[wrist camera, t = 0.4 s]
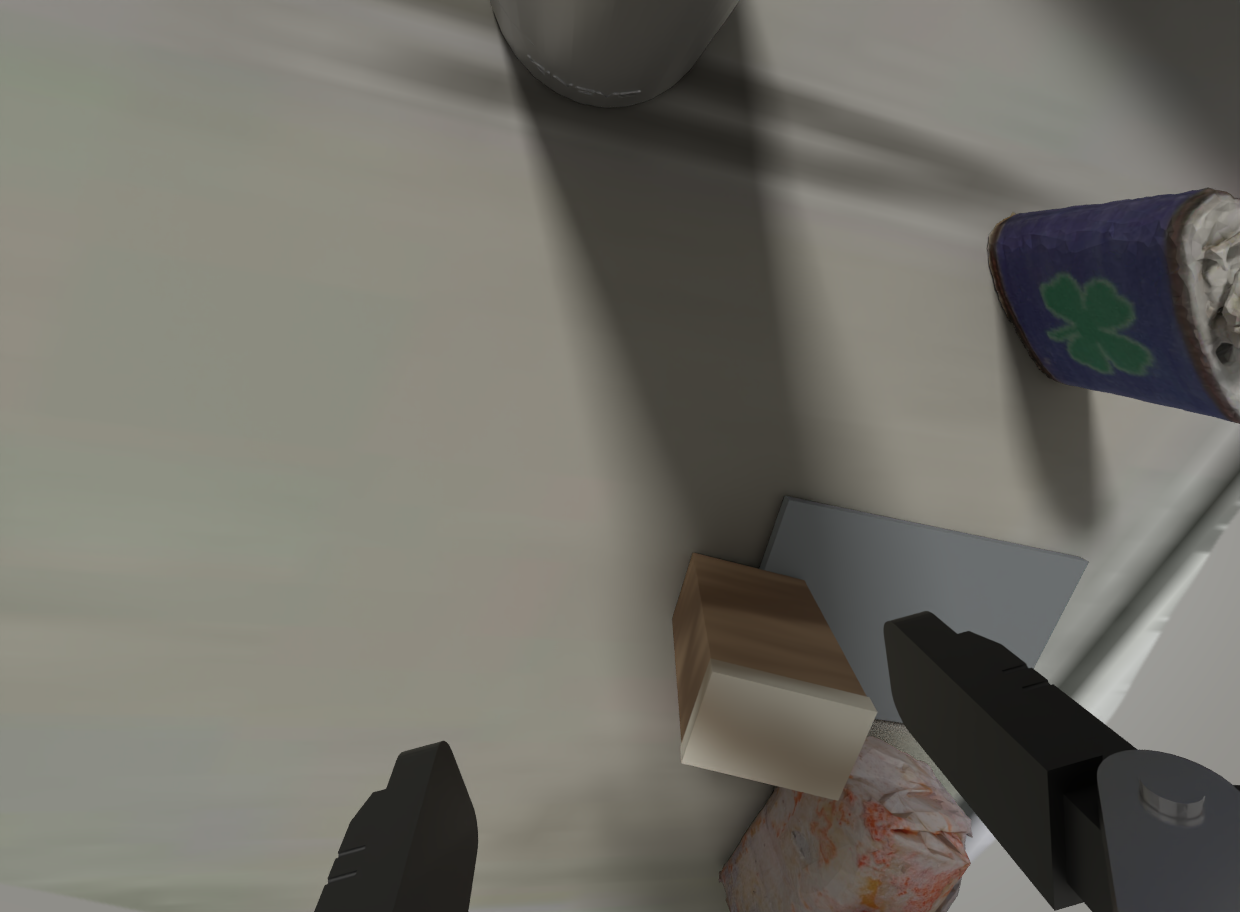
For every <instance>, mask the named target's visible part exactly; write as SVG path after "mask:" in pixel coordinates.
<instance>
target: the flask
mask: <svg viewBox="0 0 1240 912" xmlns="http://www.w3.org/2000/svg"><path fill="white" fill-rule="evenodd" d="M987 250H988V252H989V257H988V259H989V266H990V268H991V272H992V274H993V277H994V278H993V279H994V283H995V288H996V291H998V294H999V300H1000V301H1001V305H1002V308H1004V310H1005V311H1006V313H1007V318H1008V319H1009V321H1010V322H1011V323H1013V325H1014V326H1015V327H1014V328H1015V330H1016V333H1017V334H1018V335H1019V337H1020V338H1021V341H1022V343H1023V344H1024V346H1025V348H1027V350H1028V352H1029V354H1030V356H1031V357H1032V359H1033V360H1034V361H1035V363H1036V365H1037V367H1038V368H1039V370H1042V372H1043V373H1045V374H1046V375H1047V376H1048V378H1051V379H1053V380H1055V381H1057V382H1060V383H1063V384H1066V385H1071V386H1078V387H1082V388H1086V389H1090V390H1095V391H1101V392H1107V393H1112V394H1116V395H1121V396H1125V397H1130V398H1134V399H1138V400H1141V401H1145V402H1150V403H1154V404H1159V405H1164V406H1169V407H1174V408H1179V409H1183V410H1186V411H1190V412H1194V413H1199V414H1203V415H1208V416H1213V417H1217V418H1220V419H1223V420H1227V421H1231V422H1235V423H1239V424H1240V199H1238V198H1234V197H1233V196H1232V195H1230V194H1229V193H1227V192H1224V191H1218V190H1214V189H1211V188H1205V189H1201V190H1192V191H1188V192H1184V193H1180V194H1166V195H1157V196H1153V197H1144V198H1137V199H1134V200H1131V199H1126V200H1121V201H1113V202H1109V203H1104V204H1092V205H1081V206H1071V207H1067V208H1062V209H1052V210H1044V211H1037V212H1028V213H1019V214H1015V213H1014V212H1012V214H1011V216H1010V217H1008V218H1006V219H1003V220H1002V221H1001V222H999V223H997V224H996V226H995V227H994V229H993V230H992V232H991V233H990V234H989V243H988V247H987Z"/></svg>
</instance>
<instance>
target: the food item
mask: <svg viewBox="0 0 1240 912" xmlns="http://www.w3.org/2000/svg"><path fill="white" fill-rule="evenodd" d="M966 835H968V836H970V837H972V830H971V819H970V818H969V817H967V816H966V814H965V813H964V811H963V810H962V809H961V808H960V807H959V806H958V805H957V803H956V802H955V800H954V798H953V797H952V796H951V795H950V794H949V793H948V792H947V790H946V789H945V788H944V786H943V785H942V784H941V782H940V781H939V780H938V779H937V778H936V777H935V774H934V772H933V770H932V769H931V767H930V766H929V765H928V764H927V763H925V762H924V761H919V760H916V759H915V758H913V757H912V756H910V755H909V754H907V753H905V752H902V751H899V750H898V749H897V748H895V747H893V746H892V745H890V744H888V743H887V742H885V741H883V740H881V739H878V738H876V737H873V736H867V737H866V739H865V742H864V744H863V746H862V748H861V751H860V753H859V755H858V757H857V760H856V762H855V764H854V766H853V769H852V771H851V773H850V775H849V778H848V780H847V782H846V784H845V787H844V789H843V791H842V793H841V796H840V798H839V800H838V801H837V800H833V799H828V798H824V797H820V796H816V795H812V794H808V793H804V792H799V791H795V790H791V789H787V788H783V787H779V786H777V787H776V788H775V790H774V792H773V794H772V795H771V797H770V798H769V799H768V801H767V803H766V805H765V806H764V808H763V809H762V810H761V811H760V813H759V814H758V815H757V817H756V818H755V820H754V821H753V823H752V824H751V825H750V827H749V828H748V830H747V831H746V833H745V834H744V836H743V837H742V840H741V842H740V844H739V845H738V846H737V848H736V849H735V851H734V852H733V854H732V856H731V857H730V858H729V860H728V861H727V862H726V863H725V865H724V867H723V869H722V871H719V882H722V883H723V885H724V888H725V891H726V894H727V897H726V902H727V904H728V907H729V910H730V912H947V911H948V909H949V908H950V906H951V904H952V903H953V902H954V900H955V899H956V897H957V896H958V892H959V888H960V884H961V878H962V875H963V874H964V872H965V871H966V869H967V868H968V866H970V860H969V858H968V856H967V854H966V851H965V839H966ZM972 838H973V837H972Z"/></svg>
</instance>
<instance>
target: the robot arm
mask: <svg viewBox="0 0 1240 912" xmlns="http://www.w3.org/2000/svg"><path fill="white" fill-rule="evenodd" d="M739 1H740V0H490V3H491V6H492V9H493V12H494V14H495V17H496V19H497V22H498V24H499V27H500V29H501V32H502V34H503V36H504V37H505V39H506V40H507V42H508V44H509V45H510V47H511V49H512V50H513V52H514V53H515V55H516V57H517V58H518V59H519V60H520V61H521V62H522V63H523V65H524V66H525V67H526V68H527V69H528V70H529V71H530V72H531V73H532V74H533V75H534V77H535V78H537V79H538V80H539V81H541V82H542V83H543V84H545V85H546V86H548V87H549V88H550V89H552V90H553V91H555V92H556V93H557V94H560V95H562V96H564V97H567V98H569V99H571V100H573V101H576V102H578V103H581V104H586V105H592V106H597V107H602V108H609V107H627V106H631V105H634V104H637V103H641V102H644V101H647V100H651V99H652V98H654V97H656V96H657V95H659V94H661V93H663V92H664V91H666V90H668V89H669V88H671V87H672V86H673V85H675V84H676V83H677V82H678V81H679V80H680V79H681V78H682V77H683V76H684V75H685V74H686V73H687V72H689V71H690V69H691V68H692V67H693V65H694V64H695V62H696V61H697V60H698V58H699V57H700V55H701V54H702V53H703V51H704V50H705V48H706V47H707V45H708V44H709V43H710V41H711V40H712V38H713V37H714V36H715V34H716V33H717V31H718V30H719V29H720V27H721V26H722V25H723V24H724V22H725V21H726V19H727V18H728V16H729V15H730V14H731V12H732V11H733V9H734V8H735V6H736V5H737V3H738V2H739ZM883 632H884V640H885V648H886V655H887V663H888V670H889V678H890V685H891V692H892V697H893V701H894V704H895V706H896V709H897V711H898V714H899V716H900V718H901V720H902V722H903V723H904V725H905V726H906V728H907V729H908V731H909V732H910V733H911V735H912V736H913V737H914V738H915V740H916V741H917V742H918V743H919V744H920V746H921V747H922V748H923V749H924V751H925V752H926V753H927V754H928V755H929V757H930V758H931V759H932V760H933V762H934V763H935V764H936V765H937V767H938V768H939V769H940V770H941V771H942V773H943V774H944V775H945V776H946V778H947V779H948V780H949V781H950V783H951V784H952V785H953V786H954V787H955V789H956V790H957V791H958V792H959V794H960V795H961V796H962V797H963V799H964V800H965V801H966V802H967V803H968V805H969V806H970V807H971V808H972V810H973V811H974V812H975V813H976V815H977V816H978V817H979V818H980V819H981V821H982V822H983V823H984V824H985V826H986V827H987V828H988V829H989V831H990V832H991V833H992V834H993V835H994V837H995V838H996V839H997V840H998V842H999V843H1000V844H1001V845H1002V847H1003V848H1004V849H1005V850H1006V851H1007V853H1008V854H1009V855H1010V856H1011V858H1012V859H1013V860H1014V861H1015V863H1016V864H1017V865H1018V866H1019V867H1020V869H1021V870H1022V871H1023V872H1024V873H1025V875H1026V876H1027V877H1028V878H1029V880H1030V881H1031V882H1032V883H1033V885H1034V886H1035V887H1036V888H1037V889H1038V891H1039V892H1040V893H1041V894H1042V896H1043V897H1044V898H1045V899H1046V900H1047V902H1048V903H1049V904H1050V905H1051V907H1052V908H1053V909H1054V910H1059V909H1062V908H1066V907H1069V906H1072V905H1076V904H1079V903H1083V902H1085V904H1086V905H1087V906H1088V907H1089V908H1090V910H1091V911H1092V912H1240V785H1232V784H1231V783H1230V782H1228V781H1227V780H1226V779H1224V778H1223V777H1222V776H1220V775H1218V774H1217V773H1215V772H1213V771H1212V770H1210V769H1208V768H1206V767H1204V766H1202V765H1200V764H1198V763H1196V762H1193V761H1190V760H1188V759H1186V758H1182V757H1179V756H1176V755H1173V754H1168V753H1164V752H1159V751H1152V750H1137V749H1136V748H1135V747H1133V746H1132V745H1131V744H1130V743H1128V742H1127V741H1126V740H1124V739H1123V738H1122V737H1121V736H1119V735H1118V734H1117V733H1115V732H1114V731H1113V730H1112V729H1110V728H1109V727H1108V726H1106V725H1105V724H1104V723H1102V722H1101V721H1100V720H1099V719H1097V718H1096V717H1095V716H1093V715H1092V714H1091V713H1090V712H1088V711H1087V710H1086V709H1084V708H1083V707H1082V706H1081V705H1079V704H1078V703H1077V702H1075V701H1074V700H1073V699H1072V698H1070V697H1069V696H1068V695H1066V694H1065V693H1064V692H1062V691H1061V690H1060V689H1059V688H1057V687H1056V686H1055V685H1050V684H1049V683H1048V680H1047V679H1046V678H1044V677H1043V676H1042V675H1041V674H1039V673H1038V672H1037V671H1035V670H1034V669H1033V668H1028V666H1027V664H1026V663H1025V662H1024V661H1022V660H1021V659H1020V658H1019V657H1017V656H1016V655H1015V654H1013V653H1012V652H1011V651H1010V650H1008V649H1007V648H1006V647H1004V646H1003V645H1002V644H1000V643H997V642H995V641H992V640H990V639H988V638H985V637H983V636H980V635H978V634H975V633H973V632H971V631H966V632H962V633H959V634H957V633H956V632H955V631H953V630H952V629H951V628H950V627H949V626H947V625H946V624H945V623H944V622H943V621H941V620H940V619H939V618H938V617H937V616H935V615H934V614H933V613H931V612H929V611H923V612H920V613H916V614H912V615H909V616H905V617H901V618H898V619H894V620H890V621H887V622H885V624H884V628H883ZM477 849H478V828H477V820H476V815H475V811H474V808H473V805H472V802H471V799H470V797H469V794H468V792H467V789H466V786H465V784H464V781H463V779H462V776H461V773H460V771H459V768H458V766H457V763H456V760H455V758H454V755H453V753H452V750H451V748H450V746H449V744H448V743H447V742H445V741H441V742H437V743H434V744H430V745H426V746H423V747H419V748H415V749H412V750H408V751H404V752H402V753H400V755H399V756H398V758H397V760H396V763H395V766H394V769H393V771H392V774H391V777H390V780H389V783H388V785H387V788H386V789H384V790H381V791H377V792H373V793H372V795H371V796H370V797H369V798H368V800H367V801H366V802H365V804H364V805H363V806H362V807H361V809H360V810H359V811H358V813H357V814H356V815H355V817H354V818H353V819H352V820H351V822H350V824H349V827H348V829H347V832H346V834H345V837H344V839H343V842H342V844H341V846H340V849H339V851H338V854H339V857H338V858H336V859H335V861H334V864H333V866H332V869H331V871H330V874H329V876H328V884H327V885H325V886H324V889H323V891H322V894H321V896H320V899H319V901H318V903H317V906H316V908H315V911H314V912H468V909H469V903H470V896H471V889H472V883H473V876H474V870H475V863H476V856H477Z"/></svg>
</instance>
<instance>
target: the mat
mask: <svg viewBox="0 0 1240 912" xmlns="http://www.w3.org/2000/svg"><path fill="white" fill-rule="evenodd" d="M1088 563H1089V562H1088V561H1086V560H1085V559H1083V558H1081V557H1078V556H1073V555H1069V554H1064V553H1059V552H1054V551H1049V550H1044V549H1040V548H1035V547H1030V546H1025V545H1020V544H1016V543H1011V542H1006V541H1001V540H996V539H991V538H987V537H982V536H977V535H972V534H967V533H963V532H958V531H953V530H948V529H943V528H938V527H934V526H929V525H924V524H919V523H914V522H910V521H905V520H900V519H895V518H890V517H885V516H881V515H876V514H871V513H866V512H861V511H857V510H852V509H847V508H842V507H837V506H832V505H828V504H823V503H818V502H813V501H808V500H804V499H799V498H794V497H789V496H784V499H783V502H782V505H781V508H780V511H779V514H778V516H777V519H776V522H775V525H774V528H773V531H772V534H771V537H770V539H769V542H768V545H767V548H766V551H765V554H764V557H763V560H762V562H761V565H760V568H759V569H762V570H766V571H770V572H774V573H778V574H782V575H786V576H790V577H794V578H798V579H802V580H805V582H806V584H807V586H808V588H809V590H810V592H811V594H812V595H813V597H814V599H815V601H816V603H817V605H818V607H819V608H820V610H821V612H822V614H823V616H824V618H825V620H826V621H827V623H828V625H829V627H830V629H831V631H832V633H833V634H834V636H835V638H836V640H837V642H838V644H839V646H840V647H841V649H842V651H843V653H844V655H845V657H846V659H847V661H848V662H849V664H850V666H851V668H852V670H853V672H854V674H855V675H856V677H857V679H858V681H859V683H860V685H861V687H862V688H863V690H864V692H865V694H866V696H867V697H870V699H871V701H872V703H873V705H874V707H875V708H876V710H877V715H876V717H875V719H879V720H886V721H893V722H900V723H903V722H902V720H901V718H900V716H899V714H898V711H897V709H896V706H895V704H894V701H893V697H892V692H891V685H890V678H889V670H888V663H887V655H886V648H885V640H884V632H883V628H884V624H885V622H887V621H890V620H894V619H898V618H901V617H905V616H909V615H912V614H916V613H920V612H923V611H929V612H931V613H933V614H934V615H935V616H937V617H938V618H939V619H940V620H941V621H943V622H944V623H945V624H946V625H947V626H949V627H950V628H951V629H952V630H953V631H955V632H956V633H957V634H959V633H962V632H966V631H971V632H973V633H975V634H978V635H980V636H983V637H985V638H988V639H990V640H992V641H995V642H997V643H1000V644H1002V645H1003V646H1004V647H1006V648H1007V649H1008V650H1010V651H1011V652H1012V653H1013V654H1015V655H1016V656H1017V657H1019V658H1020V659H1021V660H1022V661H1024V662H1025V663H1026V664H1027V666H1028V668H1033V669H1034V667H1035V665H1036V663H1037V661H1038V659H1039V657H1040V655H1041V653H1042V651H1043V650H1044V648H1045V646H1046V644H1047V642H1048V640H1049V638H1050V636H1051V634H1052V632H1053V630H1054V628H1055V626H1056V624H1057V623H1058V621H1059V619H1060V617H1061V615H1062V613H1063V611H1064V609H1065V607H1066V605H1067V603H1068V601H1069V599H1070V597H1071V596H1072V594H1073V592H1074V590H1075V588H1076V586H1077V584H1078V582H1079V580H1080V578H1081V576H1082V574H1083V572H1084V571H1085V569H1086V567H1087V565H1088Z"/></svg>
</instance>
